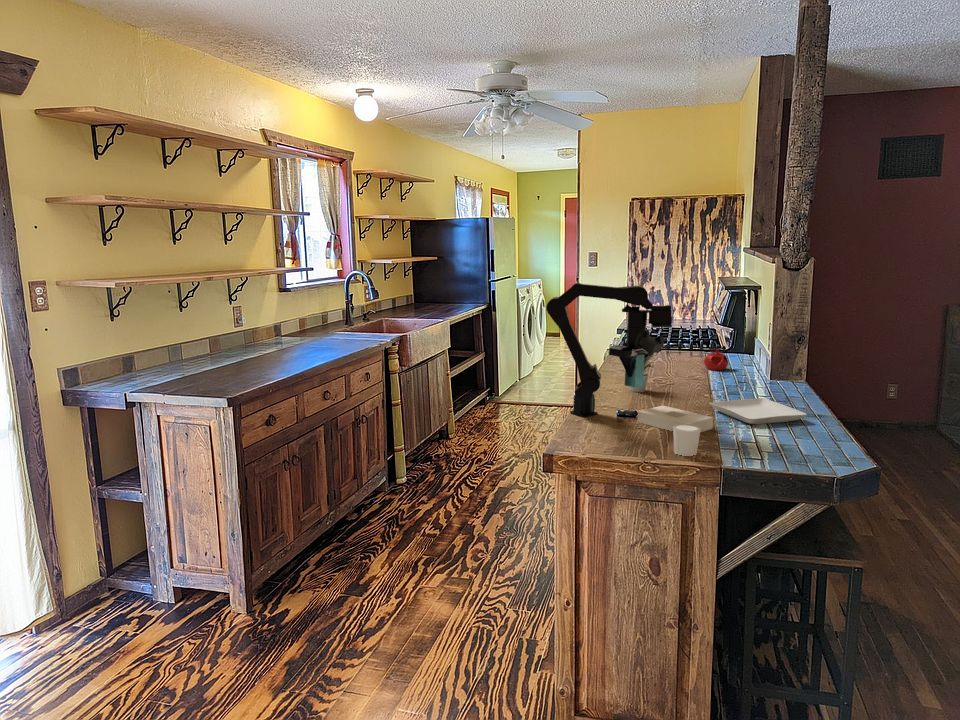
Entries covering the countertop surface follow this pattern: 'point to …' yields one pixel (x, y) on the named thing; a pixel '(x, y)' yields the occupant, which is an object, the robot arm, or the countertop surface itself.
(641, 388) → the house plant
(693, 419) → the beige square hole board
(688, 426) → the white tapered cup
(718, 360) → the pomegranate
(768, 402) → the salad plate
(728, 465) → the countertop surface
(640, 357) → the teal rectangular block
